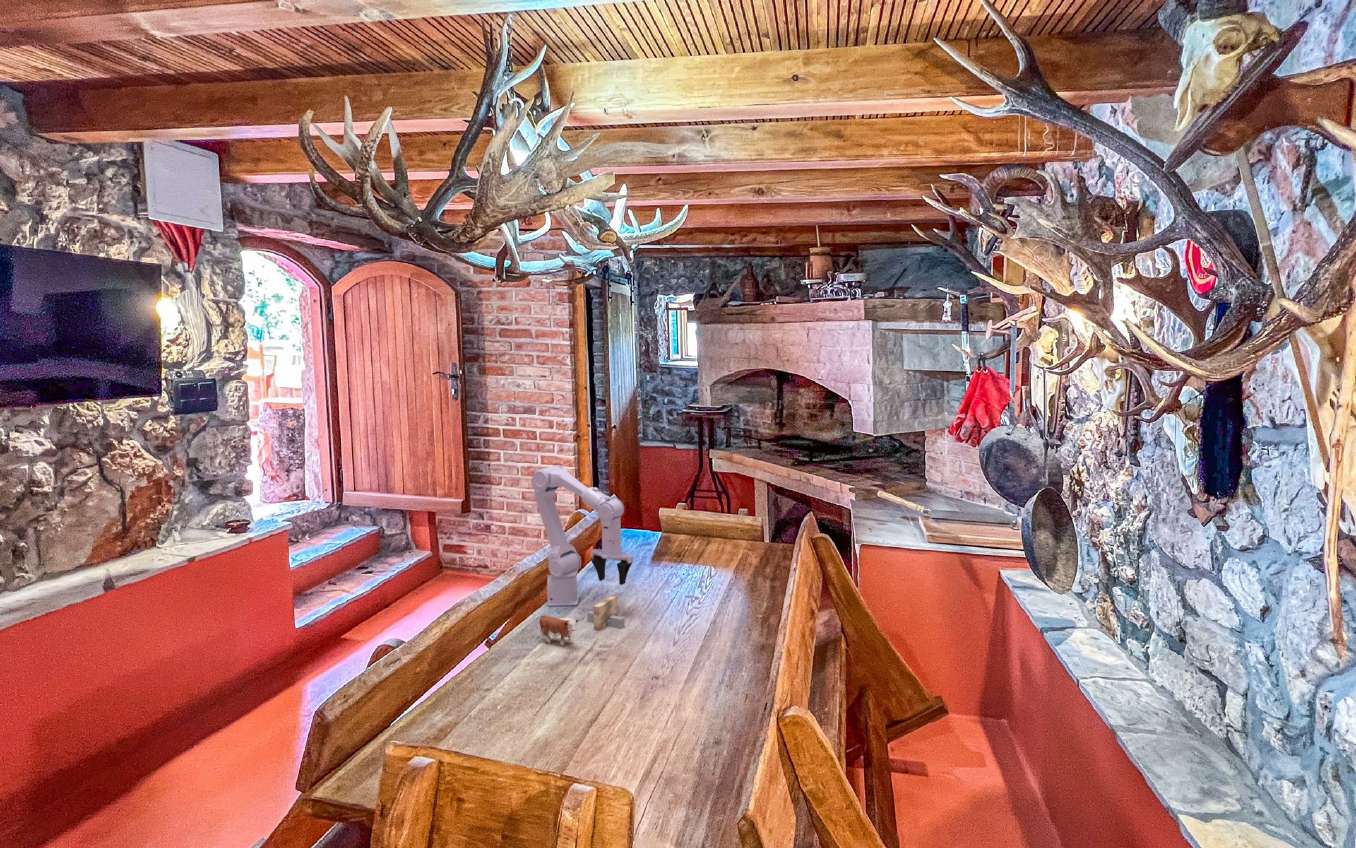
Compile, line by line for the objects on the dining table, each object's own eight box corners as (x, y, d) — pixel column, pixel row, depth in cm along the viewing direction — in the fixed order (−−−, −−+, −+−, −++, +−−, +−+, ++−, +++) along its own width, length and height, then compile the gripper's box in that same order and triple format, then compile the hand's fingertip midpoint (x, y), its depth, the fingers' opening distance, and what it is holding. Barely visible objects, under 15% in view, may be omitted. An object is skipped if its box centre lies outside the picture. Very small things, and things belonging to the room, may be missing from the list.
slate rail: (587, 621, 226) (587, 612, 226) (590, 619, 228) (590, 610, 228) (621, 628, 221) (621, 619, 221) (624, 626, 222) (624, 617, 222)
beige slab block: (599, 630, 220) (598, 607, 219) (594, 629, 221) (593, 606, 220) (617, 618, 228) (617, 596, 228) (612, 617, 229) (612, 595, 228)
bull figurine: (573, 651, 206) (572, 622, 205) (536, 640, 213) (535, 613, 212) (583, 645, 210) (583, 617, 208) (547, 635, 217) (546, 608, 216)
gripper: (584, 539, 230) (585, 581, 232) (624, 545, 223) (624, 589, 225) (597, 533, 236) (598, 575, 238) (636, 539, 229) (637, 582, 231)
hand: (612, 581), depth 232 cm, fingers open, 7 cm apart
